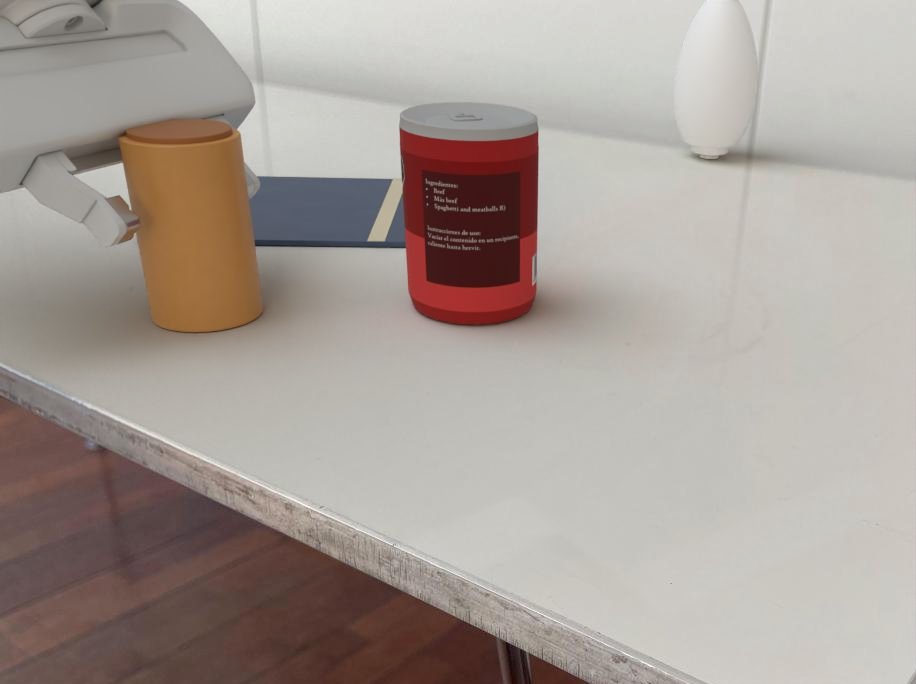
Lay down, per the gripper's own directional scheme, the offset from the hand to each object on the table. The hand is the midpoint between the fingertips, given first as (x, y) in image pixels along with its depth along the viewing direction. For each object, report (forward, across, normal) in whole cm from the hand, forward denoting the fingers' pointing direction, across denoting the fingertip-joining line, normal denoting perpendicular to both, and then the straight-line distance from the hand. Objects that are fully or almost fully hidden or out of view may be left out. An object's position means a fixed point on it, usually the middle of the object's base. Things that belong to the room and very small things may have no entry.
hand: (191, 215), depth 54 cm
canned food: (+13, +9, -4) cm, 16 cm away
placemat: (-2, +21, +10) cm, 23 cm away
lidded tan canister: (+4, +1, +4) cm, 6 cm away
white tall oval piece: (+14, +56, -6) cm, 58 cm away
